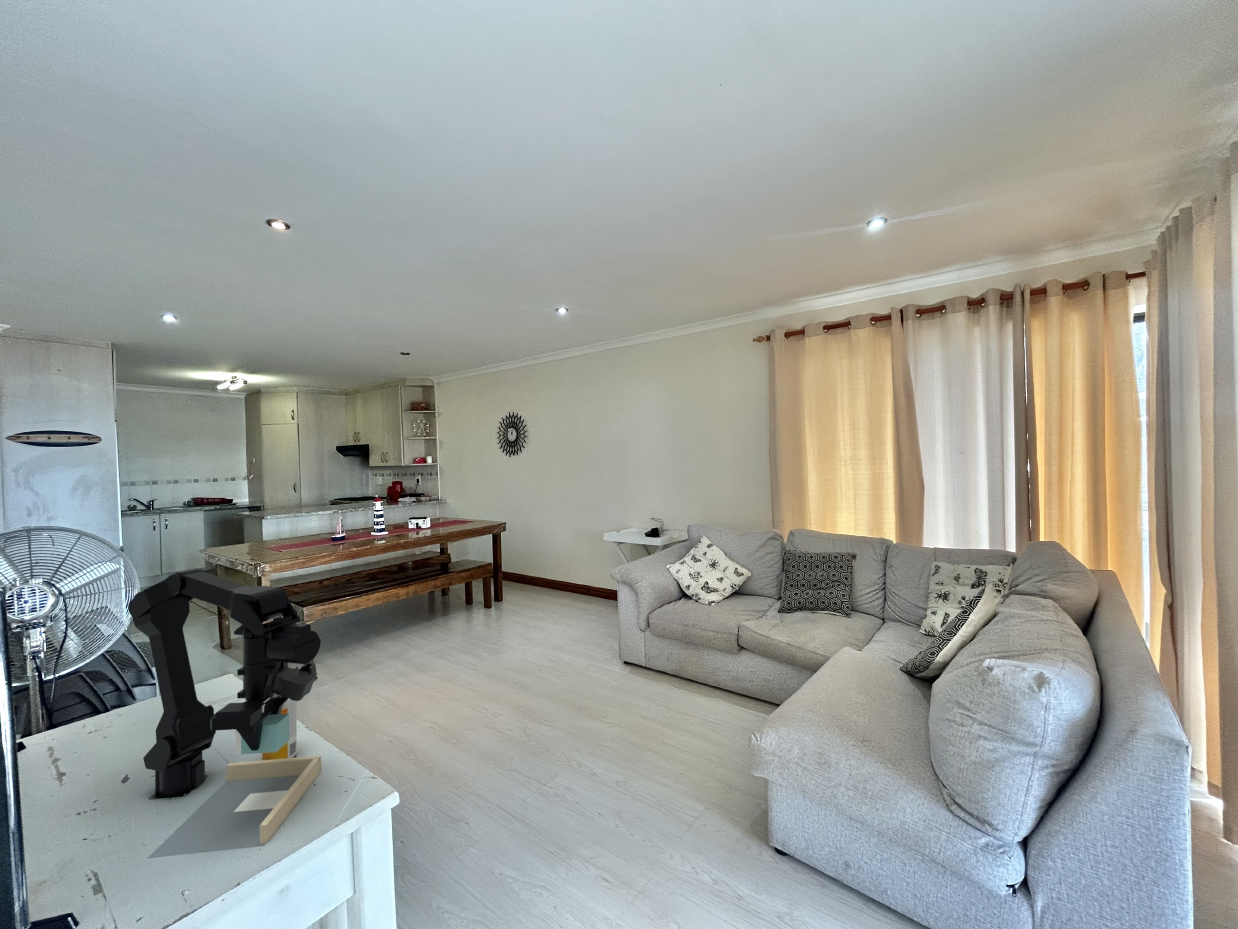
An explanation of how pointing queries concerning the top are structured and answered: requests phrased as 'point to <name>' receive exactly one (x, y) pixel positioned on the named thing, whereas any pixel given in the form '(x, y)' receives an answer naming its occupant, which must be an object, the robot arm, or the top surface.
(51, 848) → the top surface
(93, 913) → the top surface
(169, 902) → the top surface
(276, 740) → the teal block
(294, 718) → the beer can
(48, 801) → the top surface
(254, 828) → the board
